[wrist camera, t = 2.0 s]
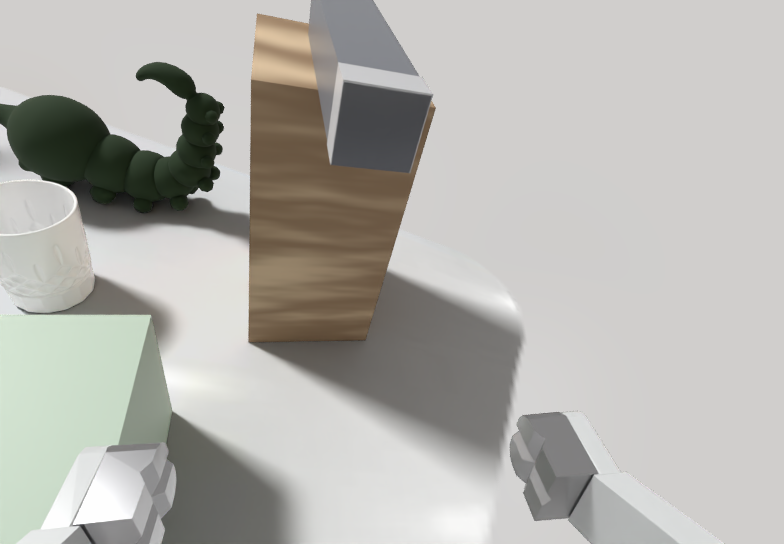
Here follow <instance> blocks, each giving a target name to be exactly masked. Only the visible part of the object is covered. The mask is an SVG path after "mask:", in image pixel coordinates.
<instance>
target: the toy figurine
mask: <svg viewBox="0 0 784 544" xmlns="http://www.w3.org/2000/svg"><path fill="white" fill-rule="evenodd" d="M136 78H137V80H139V81H143V80H145V79H153V80H156V81H158V82H160V83H162V84H163V85H165V86H166V87H167V88H168V89H169V90H171V91H172V92H173V93H174V94H175V95H177V96H179V97H181V98H183V99H186V100H187V103H186V113H187V115H186V116H185V117H184V118H183V120H182V123H181V129H182V135H181V136H180V137H179V139H178V142H177V144H176V151H175V152H174V153H173V154H172V155H171V157H163V156H162V155H160V154H158V153H155V152H151V151H144V150H142V151H140V149H139V148H138V147H137V146H136V145H135V144H134V143H132V142H131V141H129V140H127V139H125V138H123V137H121V136H117V135H112V134H110V133H109V130H108V128H107V127H106V125H105V123H104V122H103V121H102V120H101V118H100V117H99V116H98V115H97V114H96V113H95V112H94V111H93V110H91V109H90V108H88V107H87V106H85V105H83V104H81V103H80V102H77V101H75V100H73V99H70V98H67V97H63V96H55V95H42V96H38V97H33V98H30V99H28V100H26V101H24V102H22V103H21V104H19V105H18V106H13V105H5V104H0V124H2V125H3V126H4V127H5V128H6V129H7V136H8V141H9V144H10V146H11V148H12V150H13V152H14V154H15V155H16V157H17V158H18V160H19V166H20V167H21V168H22V169H23V170H25V171H32V172H34V173H36V174H38V175H40V176H41V178H42V180H43V181H49V182H53V183H57V184H60V185H62V186H64V187H67V186H70V185H71V184H73V183H74V182H75V181H82V180H85V179H86V180H87V181H88V182H89V183H90V184H92V185H93V187H92V188H91V190H90V193H91V195H92V198H93V200H95V201H96V202H98V203H102V204H109V203H111V202H112V201H113V200H114V198H115V197H116V196H117V194H116V193H124V192H127V193H128V194H129V195H130V196H132V197H134V198H135V199H134V204H133V205H134V208H135V209H136V210H137V211H139V212H141V213H144V212H148V211H151V208H152V205H153V202H155V201H160V200H163V199H164V198H169V199H170V204H171V207H172V208H174V209H176V210H185V208H186V207H187V206H188V204H189V202H188V199H187V197H186V196H187V195H188V194H194V193H195V192H196V191H197V189H198V188H200V189H201V191H205V192H208V191H210V190H212V188H213V184H214V183H213V181H212V180H216V179H218V178H219V177H220V171H219V169H218V168H217V167H215V166H214V159H215V156H216V155H220V154H221V153H222V146H221V145H220V144H219V143H215V142H216V140H217V138H218V137H219V134H220V133H221V132H222V131H223V129H224V126H223V124H222V123H221V122H220V121H218V119H219V117H220V114H222V113H223V110H224V106H223V104H222V103H220V102H218V101H216V100H215V99H214V98H213V97H212V96H210V95H208V94H205V93H196V87H195V84H194V81H193V80H192V78H191V77H190V76H189V75H188V74H187V73H185V72H184V71H183V70H181V69H179V68H178V67H176V66H173V65H170V64H167V63H162V62H154V63H150V64H147V65H144V66H143V67H141V68H140V69H139V70H138V72H137V73H136Z"/></svg>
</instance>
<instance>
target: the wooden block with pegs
mask: <svg viewBox="0 0 784 544" xmlns="http://www.w3.org/2000/svg"><path fill="white" fill-rule="evenodd" d="M308 30H309V24H308V23H302V22H297V21H292V20H288V19H282V18H277V17H272V16H267V15H262V14H257V20H256V31H255V43H254V54H253V65H252V76H251V148H250V151H251V152H250V154H251V155H250V245H249V342H294V341H353V340H366V336H367V333H368V330H369V326H370V323H371V320H372V317H373V313H374V310H375V307H376V303H377V300H378V297H379V293H380V290H381V287H382V284H383V280H384V277H385V274H386V270H387V267H388V264H389V260H390V257H391V254H392V251H393V247H394V244H395V241H396V237H397V234H398V231H399V227H400V224H401V221H402V217H403V214H404V211H405V208H406V204H407V201H408V198H409V194H410V191H411V188H412V185H413V181H414V178H415V174H416V171H417V168H418V165H419V161H420V158H421V154H422V152H423V148H424V145H425V142H426V138H427V135H428V132H429V128H430V125H431V122H432V119H433V115H434V112H435V109H436V108H435V106H434V104H433V102H432V101H431V104H430V107H429V111H428V114H427V118H426V121H425V124H424V128H423V131H422V135H421V138H420V141H419V145H418V148H417V152H416V155H415V159H414V162H413V165H412V169H411V172H410V173H403V172H393V171H384V170H374V169H364V168H355V167H345V166H335V165H330V160H329V154H328V149H327V138H326V132H325V126H324V121H323V115H322V109H321V104H320V98H319V93H318V87H317V81H316V76H315V70H314V64H313V59H312V53H311V48H310V42H309V36H308Z"/></svg>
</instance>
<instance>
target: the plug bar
mask: <svg viewBox="0 0 784 544" xmlns="http://www.w3.org/2000/svg"><path fill="white" fill-rule="evenodd" d="M308 36H309V42H310V48H311V53H312V59H313V64H314V70H315V76H316V81H317V87H318V93H319V98H320V104H321V109H322V115H323V121H324V126H325V132H326V138H327V149H328V154H329V160H330V165H335V166H345V167H355V168H364V169H374V170H384V171H393V172H403V173H410V172H411V169H412V165H413V162H414V159H415V155H416V152H417V148H418V145H419V141H420V138H421V135H422V131H423V128H424V124H425V121H426V118H427V114H428V111H429V107H430V104H431V100H432V97H433V93H432V91H431V90H430V88H429V86H428V85H427V83H426V82H425V80H424V78H423V77H420V76H419V75H418V73H417V71H416V70H415V68H414V66H413V65H412V63H411V62H410V60H409V58H408V57H407V55H406V54H405V52H404V50H403V48H402V47H401V45H400V44H399V42H398V40H397V39H396V37H395V35H394V34H393V32H392V31H391V29H390V27H389V26H388V24H387V22H386V21H385V19H384V17H383V16H382V14H381V13H380V11H379V10H378V8H377V6H376V4H375V3H374V1H373V0H311V8H310V19H309V30H308Z"/></svg>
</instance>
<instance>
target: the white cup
mask: <svg viewBox="0 0 784 544" xmlns="http://www.w3.org/2000/svg"><path fill="white" fill-rule="evenodd" d="M94 283H95V277H94V273H93V269H92V265H91V256H90V252H89V248H88V242H87V238H86V234H85V230H84V226H83V221H82V217H81V213H80V209H79V205H78V201H77V198H76V196H75V194H74V193H73V192H72V191H71V190H70V189H68V188H66V187H64V186H62V185H60V184H57V183H53V182H49V181H42V180H15V181H7V182H2V183H0V284H1V285H2V286H3V287H4V289H5V290H6V292H7V293H8V295H9V296H10V298H11V300H12V301H13V303H14V305H15V306H17V307H19V308H22V309H24V310H26V311H28V312H35V313H51V312H56V311H61V310H66V309H68V308H70V307H72V306H74V305H76V304H78V303H80V302H82V301H84V299H85V298H86V297H87V296H88V295H89V294H90V293H91V292H92V291H93V288H94Z"/></svg>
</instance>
